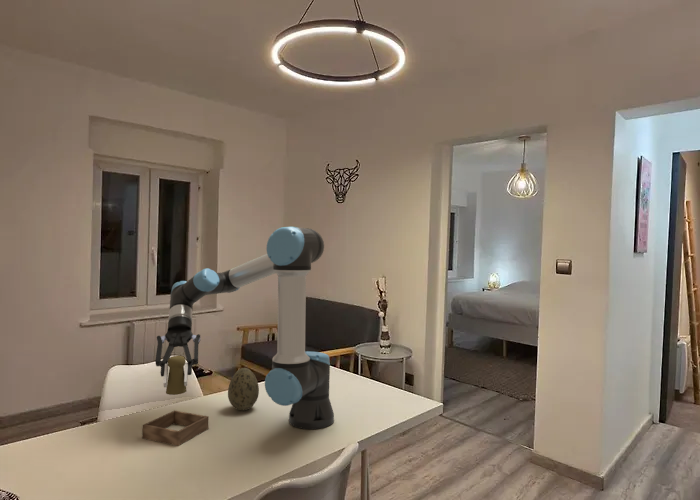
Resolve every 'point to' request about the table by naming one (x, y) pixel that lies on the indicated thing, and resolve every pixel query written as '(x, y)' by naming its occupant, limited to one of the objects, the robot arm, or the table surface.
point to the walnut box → (160, 433)
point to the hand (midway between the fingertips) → (175, 384)
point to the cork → (176, 376)
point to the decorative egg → (243, 389)
